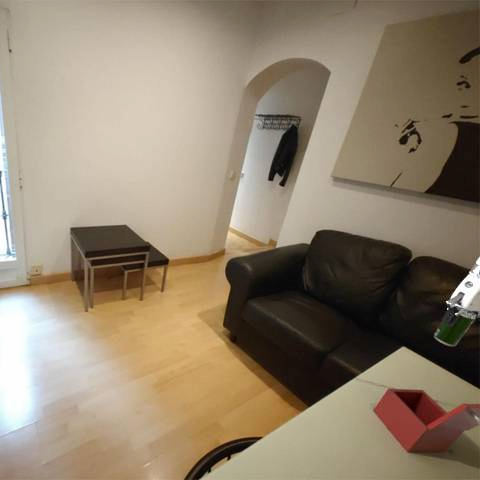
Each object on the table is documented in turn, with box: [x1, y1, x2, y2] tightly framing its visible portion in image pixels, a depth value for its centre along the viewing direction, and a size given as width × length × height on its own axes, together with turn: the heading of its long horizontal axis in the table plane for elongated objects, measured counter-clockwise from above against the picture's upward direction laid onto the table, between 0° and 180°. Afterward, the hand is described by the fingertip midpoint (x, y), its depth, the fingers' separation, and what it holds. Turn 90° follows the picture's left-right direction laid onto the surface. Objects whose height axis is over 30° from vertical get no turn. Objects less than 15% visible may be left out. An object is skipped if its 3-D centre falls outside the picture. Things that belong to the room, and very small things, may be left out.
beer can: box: [433, 306, 476, 347], centre depth 83 cm, size 5×5×12 cm
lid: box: [427, 403, 480, 431], centre depth 56 cm, size 11×11×5 cm
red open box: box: [372, 388, 466, 453], centre depth 67 cm, size 10×11×9 cm
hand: (455, 323), depth 82 cm, fingers closed on beer can, 5 cm apart
